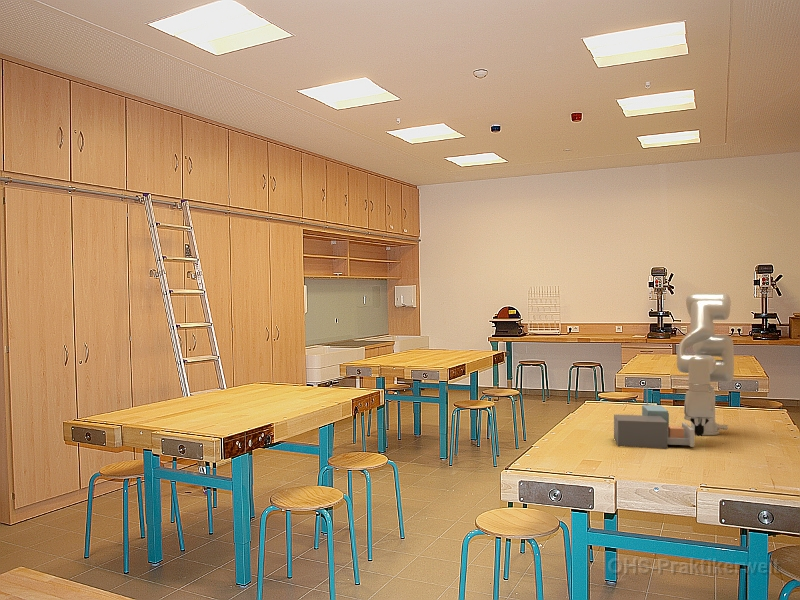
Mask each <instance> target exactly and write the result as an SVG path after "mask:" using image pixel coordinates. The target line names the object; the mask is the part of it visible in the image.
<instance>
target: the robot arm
mask: <svg viewBox="0 0 800 600" xmlns="http://www.w3.org/2000/svg"><path fill="white" fill-rule="evenodd" d="M685 304H686V308H687V313H688V314H689V318H690V323H689V324H690V328H689V333H687V334H686V335H685V336H684V337H683V338H682V339H681V341H680V342H679V344H678V346H677V351H676V352H677V353H676V355H677V356H676V366H677V368H676V369H677V370H678V371H679V372H680V373H684V374H688V390H686V391H685V396H684V407H683V413H684V420H685V421H689V422H690V427H691V428H693V429H694V435H695V436H696V437H703V436H717V435H719V434H720V430H723V431H725V430H726V431H727V430H728V424H719V423H717V422H716V392H715V389H714V388H715V386H714V385H711V384H710V383H731V382H732V381H733V380H734V377H735V376H734V375H735V356H734V355H735V354H734V353H735V352H734V349H735V348H734V346H735V345H734V341H733V339H732V337H731V336H730V335H726V334H715V323H714V320H715V321H721V320H722V321H726V320H728V318H729V317H730V313H731V305H732V302H731V298H730V295H728V294H727V293H723V292H722V293H715V292H714V293H712V292H711V293H710V292H709V293H708V292H707V293H706V292H705V293H703V292H702V293H692V294H689V295H687V297H686V298H685ZM691 346H692V351H693V354H687V353H686V350H688V348H691ZM715 357H716V358H720V359H715Z"/></svg>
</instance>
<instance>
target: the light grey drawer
mask: <svg viewBox="0 0 800 600" xmlns="http://www.w3.org/2000/svg"><path fill="white" fill-rule="evenodd" d="M681 427H683V428H684V438H668V433H667V445H671V446H672V445H673V446H674V445H675V446H678V445H679V446H690V447H693V448H694V447H695V434H694V429H693V428H691V425H690V424H688V423H687V422H682V423H681Z"/></svg>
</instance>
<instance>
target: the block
mask: <svg viewBox="0 0 800 600" xmlns="http://www.w3.org/2000/svg"><path fill="white" fill-rule="evenodd" d="M668 438H684V428H683V427H682V426H676V425H675V426H674V425H673V426H672V425H669V426H668Z"/></svg>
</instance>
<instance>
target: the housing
mask: <svg viewBox="0 0 800 600" xmlns="http://www.w3.org/2000/svg"><path fill="white" fill-rule="evenodd" d="M614 439H615V440H614ZM613 440H614V441H616V442H615V443H617V444H616V446H617V447H620V446H628V447H627V448H643V447H647V449H648V448H649V449H666V448H667V449H668V444H667V422H666V421H665V420H664V419H663V418H662V417H661V416H643V415H642V414H641V415H640V414H639V415H638V414H613Z"/></svg>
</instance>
